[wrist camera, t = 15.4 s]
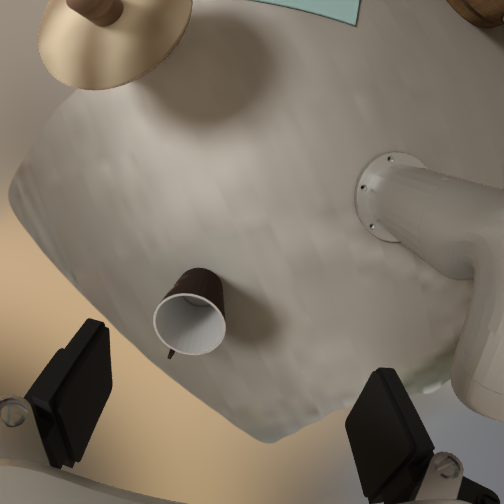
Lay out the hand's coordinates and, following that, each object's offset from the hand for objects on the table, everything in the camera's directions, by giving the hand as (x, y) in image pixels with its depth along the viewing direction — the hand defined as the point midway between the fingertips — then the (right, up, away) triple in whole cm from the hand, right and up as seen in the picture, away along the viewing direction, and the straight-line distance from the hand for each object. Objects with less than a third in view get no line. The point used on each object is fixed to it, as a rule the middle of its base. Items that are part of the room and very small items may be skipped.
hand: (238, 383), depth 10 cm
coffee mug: (-8, -1, +36) cm, 37 cm away
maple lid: (-14, +28, +13) cm, 34 cm away
